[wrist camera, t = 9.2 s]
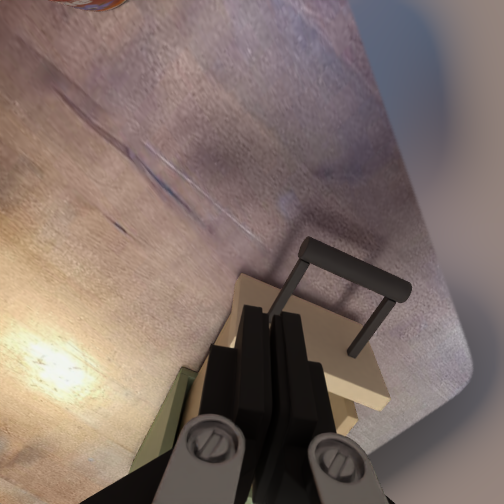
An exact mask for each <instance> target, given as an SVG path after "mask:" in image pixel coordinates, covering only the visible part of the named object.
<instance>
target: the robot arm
mask: <svg viewBox="0 0 504 504" xmlns="http://www.w3.org/2000/svg"><path fill="white" fill-rule="evenodd" d="M251 486H252V503H253V504H395V503H394V502H393V501H392V500H390V499H389V498H388V497H387V496H386V495H385V494H384V492H383V489H382V487H381V485H380V483H379V480H378V478H377V475H376V473H375V471H374V469H373V466H372V464H371V462H370V459H369V458H368V456H367V454H366V453H365V451H364V450H363V449H362V448H361V447H360V446H359V445H358V444H357V443H356V442H354V441H353V440H351V439H350V438H348V437H346V436H343V435H341V434H337V432H336V427H335V422H334V418H333V413H332V408H331V404H330V399H329V394H328V389H327V385H326V380H325V375H324V370H323V367H322V364H321V363H320V362H314V361H308V357H307V351H306V345H305V339H304V333H303V327H302V321H301V316H300V314H296V313H290V312H285V311H281V313H280V315H273V317H272V321H271V325H270V329H269V314H268V313H263V310H262V307H256V306H251V305H245V304H244V306H243V309H242V314H241V318H240V323H239V327H238V332H237V336H236V341H235V345H234V348H231V347H225V346H219V345H213V344H211V347H210V352H209V357H208V362H207V367H206V373H205V378H204V383H203V389H202V395H201V401H200V407H199V413H198V416H197V417H194V418H192V419H191V420H190V421H188V422H187V423H186V424H185V425H184V427H183V429H182V430H181V432H180V435H179V437H178V440H177V442H176V445H175V447H174V448H172V449H170V450H169V451H167V452H165V453H164V454H162V455H160V456H158V457H157V458H155V459H153V460H152V461H150V462H148V463H147V464H145V465H143V466H142V467H140V468H138V469H137V470H135V471H133V472H131V473H130V474H128V475H126V476H125V477H123V478H121V479H120V480H118V481H116V482H115V483H113V484H111V485H109V486H108V487H106V488H104V489H103V490H101V491H99V492H98V493H96V494H94V495H93V496H91V497H89V498H87V499H86V500H84V501H82V502H81V503H80V504H245V503H246V502H247V499H248V496H249V492H250V489H251Z"/></svg>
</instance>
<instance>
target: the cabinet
mask: <svg viewBox="0 0 504 504" xmlns="http://www.w3.org/2000/svg"><path fill="white" fill-rule="evenodd" d="M197 375H198V373H197V372H194V371H191V370H189V369H186V368H183V367H182V368H181V369H180V371H179V373H178V375H177V377H176V379H175V381H174V383H173V385H172V387H171V389H170V391H169V393H168V395H167V397H166V399H165V401H164V402H163V404H162V406H161V408H160V410H159V412H158V414H157V416H156V418H155V420H154V422H153V424H152V426H151V428H150V430H149V432H148V434H147V436H146V438H145V440H144V442H143V443H142V445H141V447H140V449H139V451H138V453H137V455H136V457H135V459H134V461H133V463H132V465H131V468H130V471H129V474H130V473H131V472H133V471H135V470H137V469H138V468H140V467H142V466H143V465H145V464H147V463H148V462H150V461H152V460H153V459H155V458H157V457H158V456H160V455H162V454H164V453H165V452H167V451H169V450H170V449H172V448H174V447H175V445H176V441H177V436H178V432H179V428H180V423H181V419H182V414H183V410H184V405H185V401H186V396H187V394H188V392H189V390H190V388H191V386H192V384H193V382H194V381H195V379H196V377H197ZM245 504H253V503H252V488H251V489H250V492H249V496H248V499H247V502H246V503H245Z"/></svg>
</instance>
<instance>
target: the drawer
mask: <svg viewBox="0 0 504 504" xmlns="http://www.w3.org/2000/svg"><path fill="white" fill-rule="evenodd" d="M298 257H299V260H298V261H297V263H296V265H295V267H294V268H293V270H292V272H291V273H290V275H289V277H288V279H287V280H286V282H285V284H284V285H283V287H282V289H281V290H280V289H278V288H276V287H273V286H271V285H269V284H266V283H264V282H262V281H259V280H257V279H255V278H252V277H250V276H248V275H245V274H243V273H241V274H240V276H239V278H238V280H237V282H236V283H235V287H234V296H233V304H232V312H231V314H230V316H229V318H228V319H227V321H226V323H225V325H224V327H223V329H222V331H221V332H220V334H219V336H218V338H217V340H216V342H215V344H214V345H219V346H225V347H231V348H234V345H235V341H236V336H237V332H238V327H239V323H240V318H241V314H242V309H243V306H244V304H245V305H251V306H256V307H262V310H263V313H268V314H269V329H270V325H271V321H272V317H273V315H280V313H281V311H285V312H290V313H296V314H300V316H301V321H302V327H303V333H304V339H305V345H306V351H307V357H308V361H314V362H320V363H321V364H322V367H323V370H324V375H325V380H326V385H327V389H328V394H329V399H330V404H331V408H332V413H333V418H334V422H335V427H336V432H337V434H341V435H343V436H346V435H347V434H348V432H349V431H350V430H351V429H352V427H353V426H354V425H355V424H356V422H357V421H358V416H357V413H356V409H355V405H354V402H357V403H359V404H362V405H365V406H367V407H370V408H372V409H375V410H377V411H382V409H383V408H384V407H385V406H386V405H387V403H388V402H389V401H390V400H391V398H390V395H389V392H388V390H387V387H386V385H385V382H384V379H383V377H382V374H381V372H380V369H379V366H378V364H377V361H376V358H375V356H374V353H373V351H372V348H371V345H370V343H369V340H370V338H371V337H372V336H373V334H374V333H375V331H376V330H377V329H378V327H379V326H380V325H381V323H382V322H383V321H384V319H385V318H386V316H387V315H388V314H389V312H390V311H391V310H392V308H393V307H394V305H395V304H396V302H398V303H403V302H405V301H406V300H407V299H408V298H409V296H410V294H411V291H412V285H411V283H410V282H408V281H406V280H403V279H401V278H399V277H397V276H395V275H392V274H390V273H388V272H386V271H384V270H382V269H379V268H377V267H375V266H373V265H371V264H368V263H366V262H364V261H362V260H360V259H358V258H355V257H353V256H351V255H349V254H347V253H345V252H342V251H340V250H338V249H336V248H334V247H331V246H329V245H327V244H325V243H323V242H321V241H318V240H316V239H314V238H312V237H310V236H308V237H306V238H305V240H304V241H303V243H302V244H301V247H300V249H299V253H298ZM310 263H311V264H313V265H316V266H318V267H320V268H322V269H325V270H327V271H329V272H331V273H333V274H336V275H338V276H340V277H342V278H345V279H347V280H349V281H351V282H354V283H356V284H358V285H360V286H363V287H365V288H367V289H369V290H372V291H374V292H376V293H378V294H380V295H383V296H385V297H384V298H383V300H382V301H381V303H380V304H379V305H378V307H377V308H376V310H375V311H374V312H373V314H372V315H371V317H370V318H369V319H368V321H367V322H366V324H365V325H364V326H363V325H362V324H359V323H357V322H355V321H352V320H350V319H348V318H345V317H343V316H341V315H338V314H336V313H334V312H331V311H329V310H327V309H324V308H322V307H320V306H317V305H315V304H313V303H311V302H308V301H306V300H304V299H301V298H299V297H297V296H294V295H292V293H293V291H294V290H295V288H296V286H297V285H298V283H299V281H300V280H301V278H302V276H303V275H304V273H305V271H306V270H307V268H308V266H309V265H310ZM208 357H209V355H208V356H207V358H206V360H205V362H204V364H203V366H202V368H201V369H200V371H199V373H198V375H197V377H196V379H195V381H194V382H193V384H192V386H191V388H190V390H189V392H188V394H187V396H186V401H185V405H184V410H183V414H182V419H181V423H180V428H179V432H178V436H177V440H178V437H179V435H180V432H181V430H182V429H183V427H184V425H185V424H186V423H187V422H188V421H190V420H191V419H192V418H194V417H197V416H198V413H199V407H200V401H201V395H202V389H203V383H204V378H205V373H206V367H207V362H208ZM176 442H177V441H176ZM251 488H252V486H251Z"/></svg>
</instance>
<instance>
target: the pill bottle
mask: <svg viewBox="0 0 504 504" xmlns="http://www.w3.org/2000/svg"><path fill="white" fill-rule="evenodd" d="M50 1H54V2H57V3H60V4H64V5H68V6H72V7H75V8H78V9H82V10H87V11H106V10H110V9H113V8H116V7H118V6H119V5H121V4H122V3H124V2H125V1H126V0H50Z"/></svg>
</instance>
